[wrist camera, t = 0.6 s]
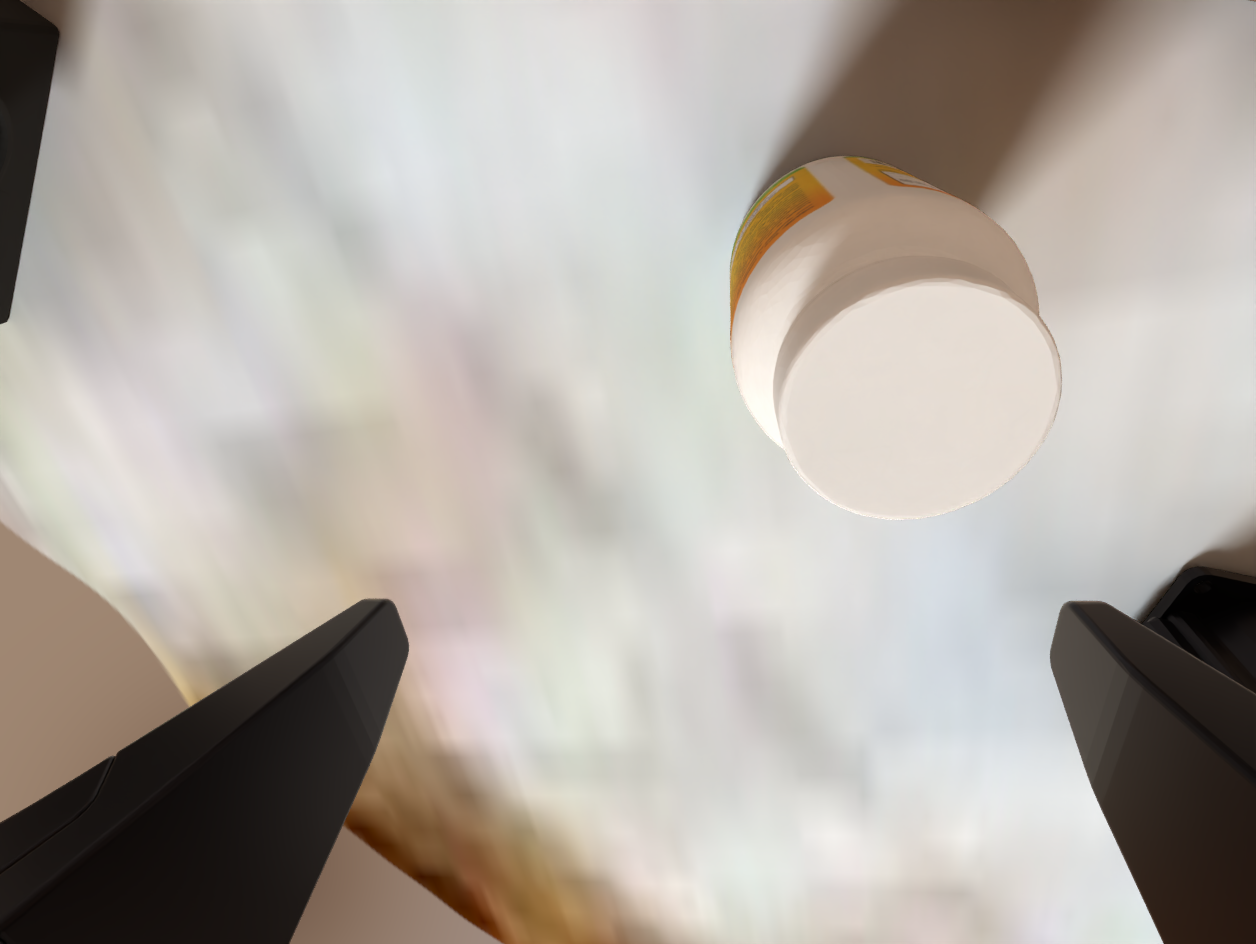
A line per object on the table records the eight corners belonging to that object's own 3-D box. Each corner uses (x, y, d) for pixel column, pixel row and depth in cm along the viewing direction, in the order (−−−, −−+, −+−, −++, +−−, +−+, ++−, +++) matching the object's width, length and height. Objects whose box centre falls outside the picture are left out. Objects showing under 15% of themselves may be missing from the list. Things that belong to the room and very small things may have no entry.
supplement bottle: (744, 370, 20) (755, 573, 12) (715, 180, 17) (702, 267, 9) (935, 338, 19) (1101, 541, 10) (933, 130, 16) (1150, 176, 8)
